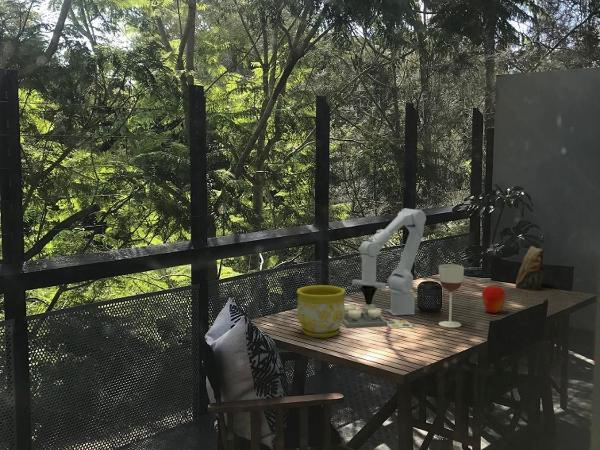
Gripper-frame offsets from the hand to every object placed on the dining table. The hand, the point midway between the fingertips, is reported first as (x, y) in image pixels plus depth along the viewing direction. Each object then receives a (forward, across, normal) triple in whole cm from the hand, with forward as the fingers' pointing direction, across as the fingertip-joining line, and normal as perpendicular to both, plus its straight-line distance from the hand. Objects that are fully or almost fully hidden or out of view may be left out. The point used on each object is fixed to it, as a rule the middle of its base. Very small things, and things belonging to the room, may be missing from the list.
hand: (368, 304), depth 258 cm
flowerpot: (+6, -5, -28) cm, 29 cm away
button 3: (+4, 0, 0) cm, 4 cm away
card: (+6, +14, -1) cm, 15 cm away
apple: (+6, +38, +38) cm, 54 cm away
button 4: (+4, +6, -6) cm, 9 cm away
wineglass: (+6, +30, +11) cm, 33 cm away
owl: (+6, +37, +93) cm, 101 cm away
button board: (+6, 0, -6) cm, 8 cm away
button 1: (+4, -6, -6) cm, 9 cm away
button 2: (+4, 0, -11) cm, 12 cm away
